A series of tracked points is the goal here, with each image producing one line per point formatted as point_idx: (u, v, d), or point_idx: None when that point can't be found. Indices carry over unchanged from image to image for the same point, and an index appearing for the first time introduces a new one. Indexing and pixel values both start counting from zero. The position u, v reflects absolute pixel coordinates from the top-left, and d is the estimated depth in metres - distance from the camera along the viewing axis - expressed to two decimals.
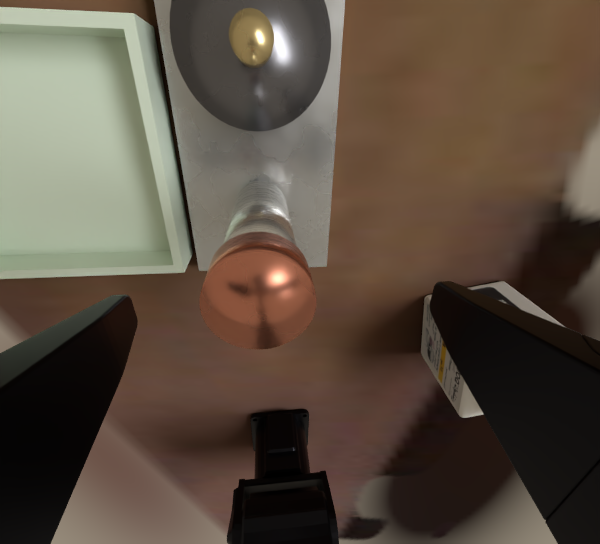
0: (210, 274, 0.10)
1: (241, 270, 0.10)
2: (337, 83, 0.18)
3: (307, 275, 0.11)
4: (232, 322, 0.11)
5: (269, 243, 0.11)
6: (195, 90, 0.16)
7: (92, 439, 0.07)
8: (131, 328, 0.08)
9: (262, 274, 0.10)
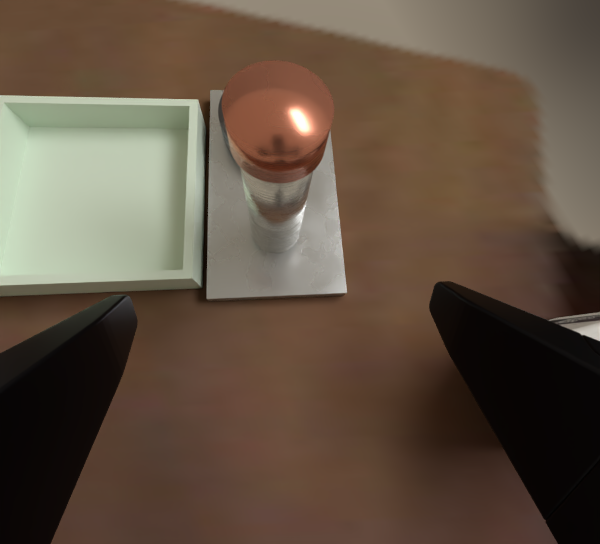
0: (236, 75, 0.12)
1: (263, 72, 0.12)
2: (330, 146, 0.25)
3: (321, 83, 0.12)
4: (251, 119, 0.11)
5: None
6: None
7: (92, 439, 0.07)
8: (131, 328, 0.08)
9: (282, 76, 0.12)
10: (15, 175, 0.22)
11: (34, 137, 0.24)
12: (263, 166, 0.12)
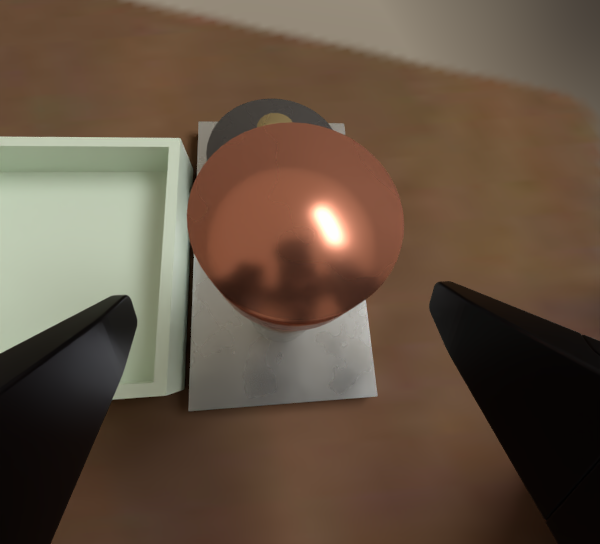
0: (216, 153, 0.06)
1: (268, 145, 0.06)
2: None
3: (376, 164, 0.06)
4: (245, 246, 0.06)
5: None
6: None
7: (92, 439, 0.07)
8: (131, 328, 0.08)
9: (303, 153, 0.06)
10: None
11: None
12: (268, 322, 0.06)
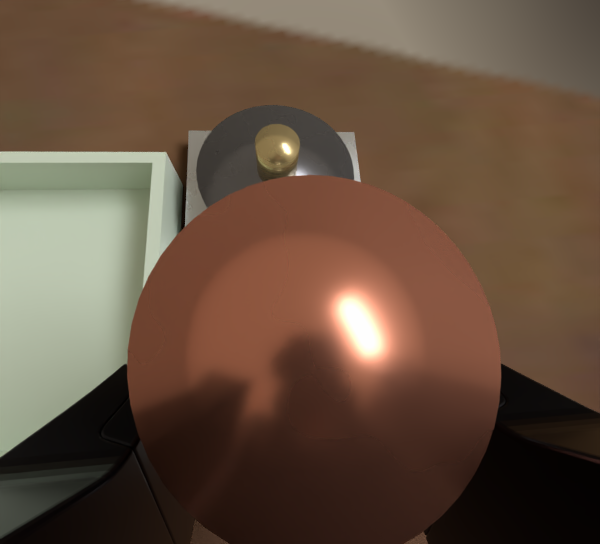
0: (185, 232, 0.04)
1: (271, 217, 0.04)
2: None
3: (444, 242, 0.04)
4: (230, 411, 0.03)
5: None
6: None
7: None
8: None
9: (328, 228, 0.04)
10: None
11: None
12: None
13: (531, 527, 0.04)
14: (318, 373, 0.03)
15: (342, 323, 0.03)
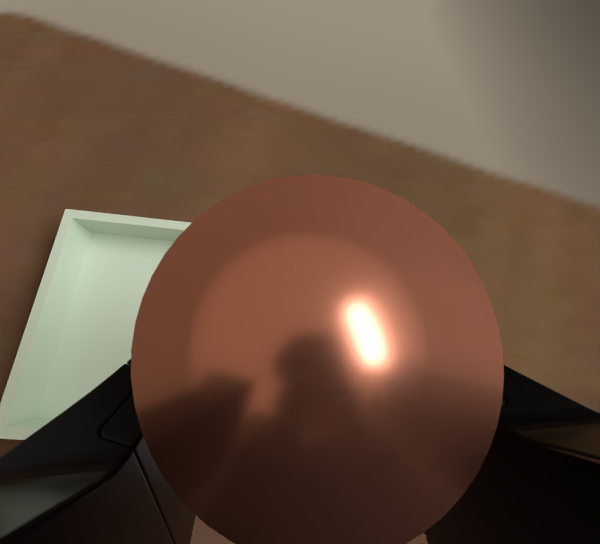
0: (188, 231, 0.04)
1: (274, 216, 0.04)
2: None
3: (447, 242, 0.04)
4: (234, 410, 0.03)
5: None
6: None
7: None
8: None
9: (331, 228, 0.04)
10: (71, 290, 0.21)
11: (95, 244, 0.22)
12: None
13: (531, 527, 0.04)
14: (321, 372, 0.03)
15: (345, 322, 0.03)
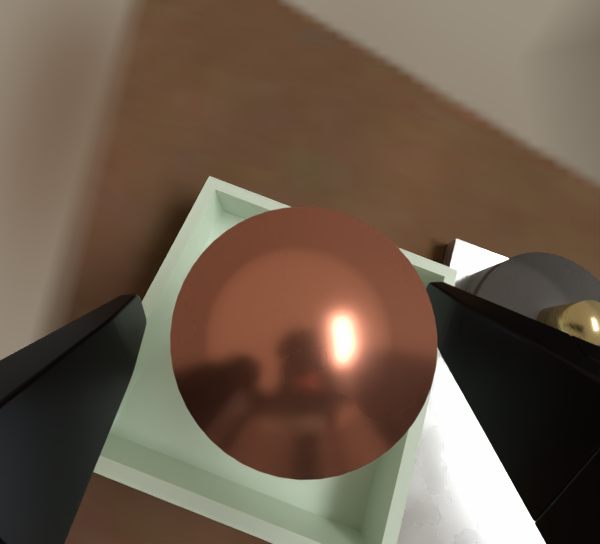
0: (208, 249, 0.05)
1: (271, 238, 0.05)
2: None
3: None
4: (243, 376, 0.04)
5: None
6: None
7: (104, 438, 0.07)
8: (140, 328, 0.08)
9: (313, 246, 0.05)
10: None
11: (223, 226, 0.18)
12: None
13: None
14: (304, 350, 0.05)
15: (322, 315, 0.05)
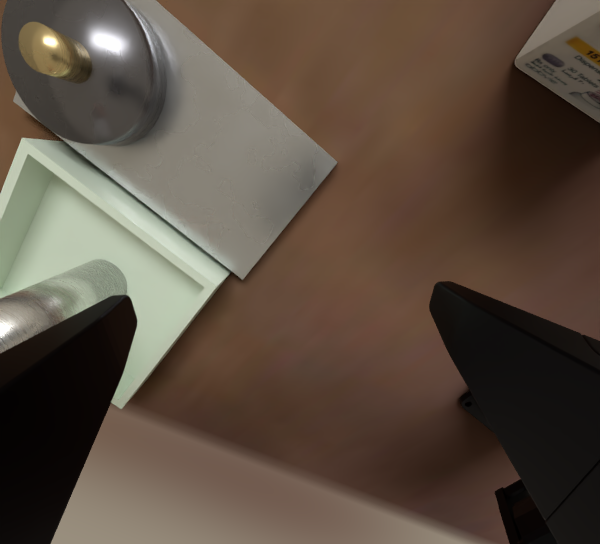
0: None
1: None
2: (162, 9, 0.16)
3: None
4: None
5: None
6: (84, 139, 0.17)
7: (92, 439, 0.07)
8: (131, 328, 0.08)
9: None
10: None
11: (14, 291, 0.24)
12: None
13: None
14: None
15: None
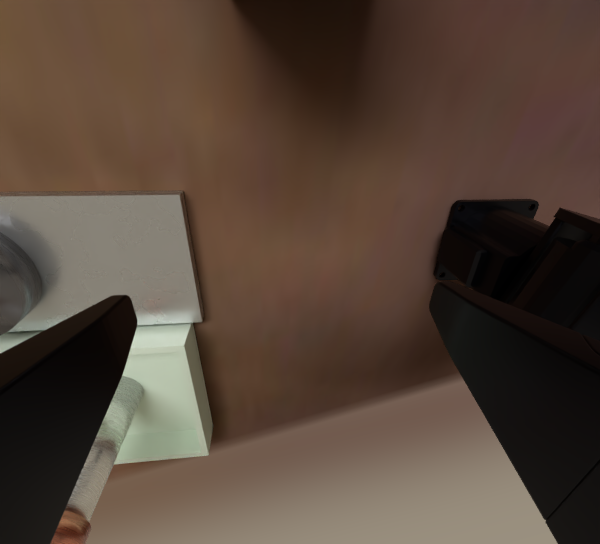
0: None
1: None
2: None
3: None
4: None
5: None
6: (5, 328, 0.20)
7: (92, 439, 0.07)
8: (131, 328, 0.08)
9: None
10: None
11: None
12: (78, 542, 0.17)
13: None
14: None
15: None
